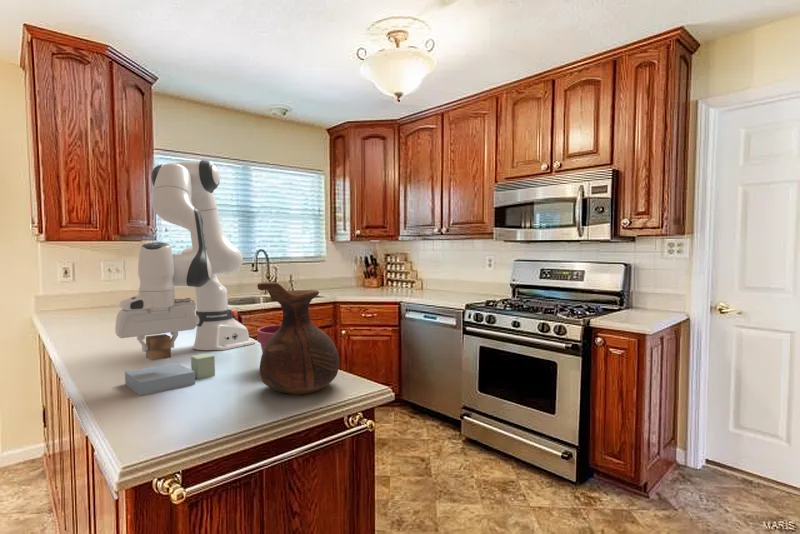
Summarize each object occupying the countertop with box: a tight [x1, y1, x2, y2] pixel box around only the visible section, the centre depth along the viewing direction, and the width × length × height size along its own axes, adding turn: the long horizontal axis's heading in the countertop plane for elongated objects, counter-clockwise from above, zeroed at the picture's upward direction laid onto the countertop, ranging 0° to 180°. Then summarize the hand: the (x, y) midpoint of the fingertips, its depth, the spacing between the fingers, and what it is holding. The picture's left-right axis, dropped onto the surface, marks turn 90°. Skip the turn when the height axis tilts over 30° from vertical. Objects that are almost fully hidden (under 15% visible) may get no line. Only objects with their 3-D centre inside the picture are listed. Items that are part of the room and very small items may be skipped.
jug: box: [256, 281, 340, 395], centre depth 125 cm, size 22×22×30 cm
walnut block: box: [145, 333, 172, 362], centre depth 129 cm, size 5×5×6 cm
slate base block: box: [124, 362, 196, 396], centre depth 130 cm, size 14×14×4 cm
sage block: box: [190, 353, 216, 380], centre depth 138 cm, size 5×5×6 cm
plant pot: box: [256, 324, 281, 353], centre depth 146 cm, size 14×14×13 cm
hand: (158, 349), depth 129 cm, fingers closed on walnut block, 5 cm apart
